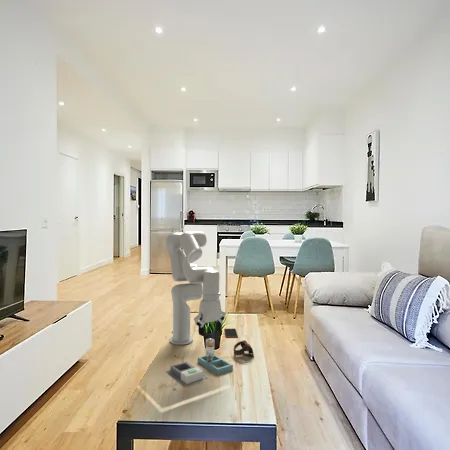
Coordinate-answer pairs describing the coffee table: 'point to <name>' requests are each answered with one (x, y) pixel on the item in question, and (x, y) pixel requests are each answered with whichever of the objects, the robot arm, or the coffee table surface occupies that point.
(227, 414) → the coffee table surface
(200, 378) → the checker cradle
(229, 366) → the teal rectangular open box
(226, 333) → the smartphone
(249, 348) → the brown arched frame
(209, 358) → the test cell
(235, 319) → the coffee table surface
